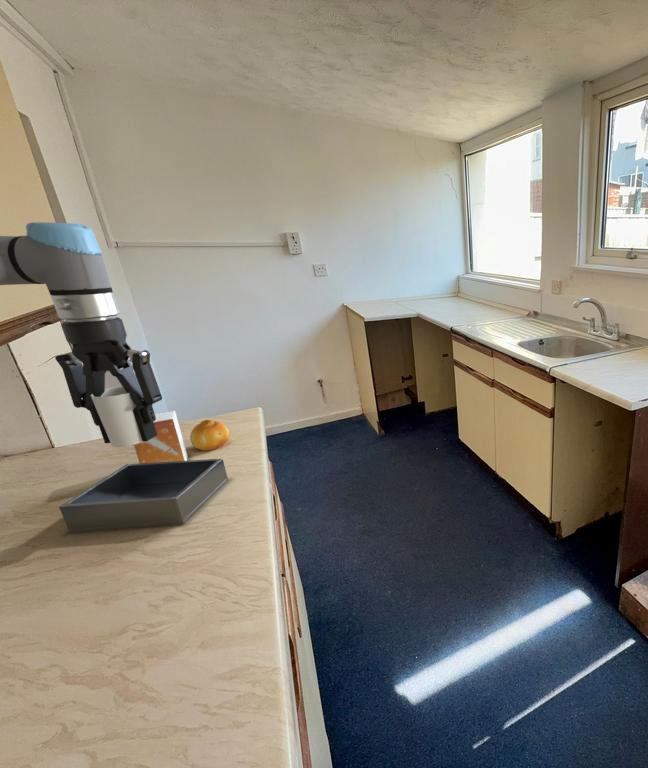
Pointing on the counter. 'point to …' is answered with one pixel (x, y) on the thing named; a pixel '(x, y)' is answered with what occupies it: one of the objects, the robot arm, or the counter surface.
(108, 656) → the counter surface
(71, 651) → the counter surface
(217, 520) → the counter surface
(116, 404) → the white cup
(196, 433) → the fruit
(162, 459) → the small box
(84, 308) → the robot arm
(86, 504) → the tray
